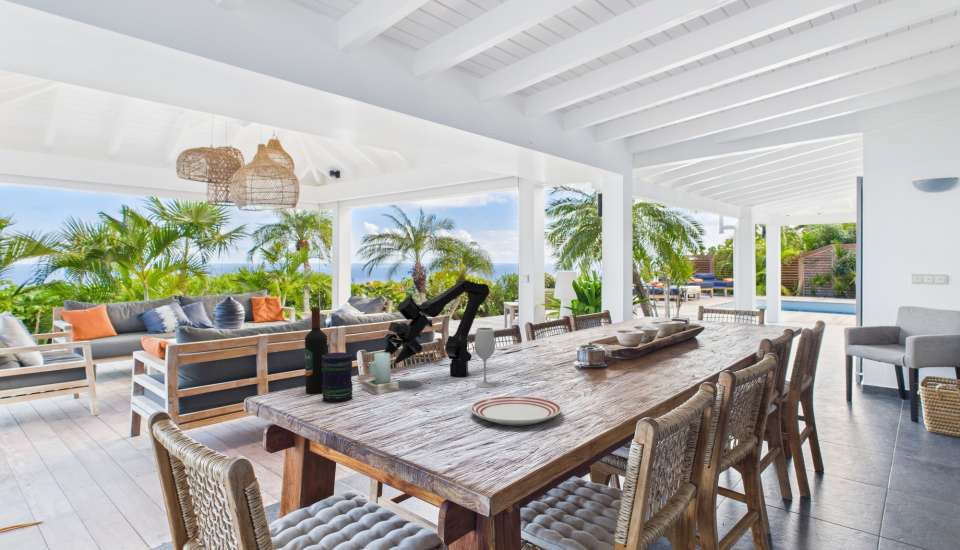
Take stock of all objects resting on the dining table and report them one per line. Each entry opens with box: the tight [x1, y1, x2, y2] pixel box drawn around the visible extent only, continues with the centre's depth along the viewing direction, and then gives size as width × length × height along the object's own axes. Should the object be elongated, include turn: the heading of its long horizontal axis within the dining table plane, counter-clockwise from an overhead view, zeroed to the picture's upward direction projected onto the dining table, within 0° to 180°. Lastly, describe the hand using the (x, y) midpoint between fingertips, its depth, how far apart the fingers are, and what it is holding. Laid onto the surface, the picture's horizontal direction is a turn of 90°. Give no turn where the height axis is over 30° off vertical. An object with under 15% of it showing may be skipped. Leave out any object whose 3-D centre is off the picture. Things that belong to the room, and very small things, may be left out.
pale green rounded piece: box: [368, 351, 392, 385], centre depth 184 cm, size 8×6×13 cm
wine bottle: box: [304, 306, 328, 395], centre depth 182 cm, size 8×8×30 cm
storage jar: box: [322, 352, 354, 404], centre depth 172 cm, size 10×10×15 cm
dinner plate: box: [469, 395, 563, 426], centre depth 153 cm, size 27×27×3 cm
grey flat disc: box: [397, 379, 422, 389], centre depth 191 cm, size 11×11×1 cm
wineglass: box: [474, 327, 496, 388], centre depth 190 cm, size 8×8×21 cm
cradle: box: [361, 378, 399, 395], centre depth 184 cm, size 9×10×3 cm
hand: (388, 360), depth 186 cm, fingers open, 9 cm apart
